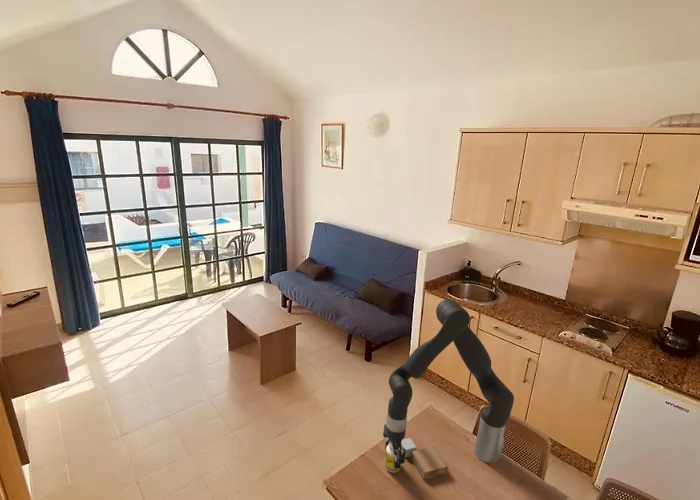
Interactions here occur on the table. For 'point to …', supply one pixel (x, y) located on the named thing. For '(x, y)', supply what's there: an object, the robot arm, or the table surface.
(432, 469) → the walnut block
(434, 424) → the table surface
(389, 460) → the pill bottle
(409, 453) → the slate block
